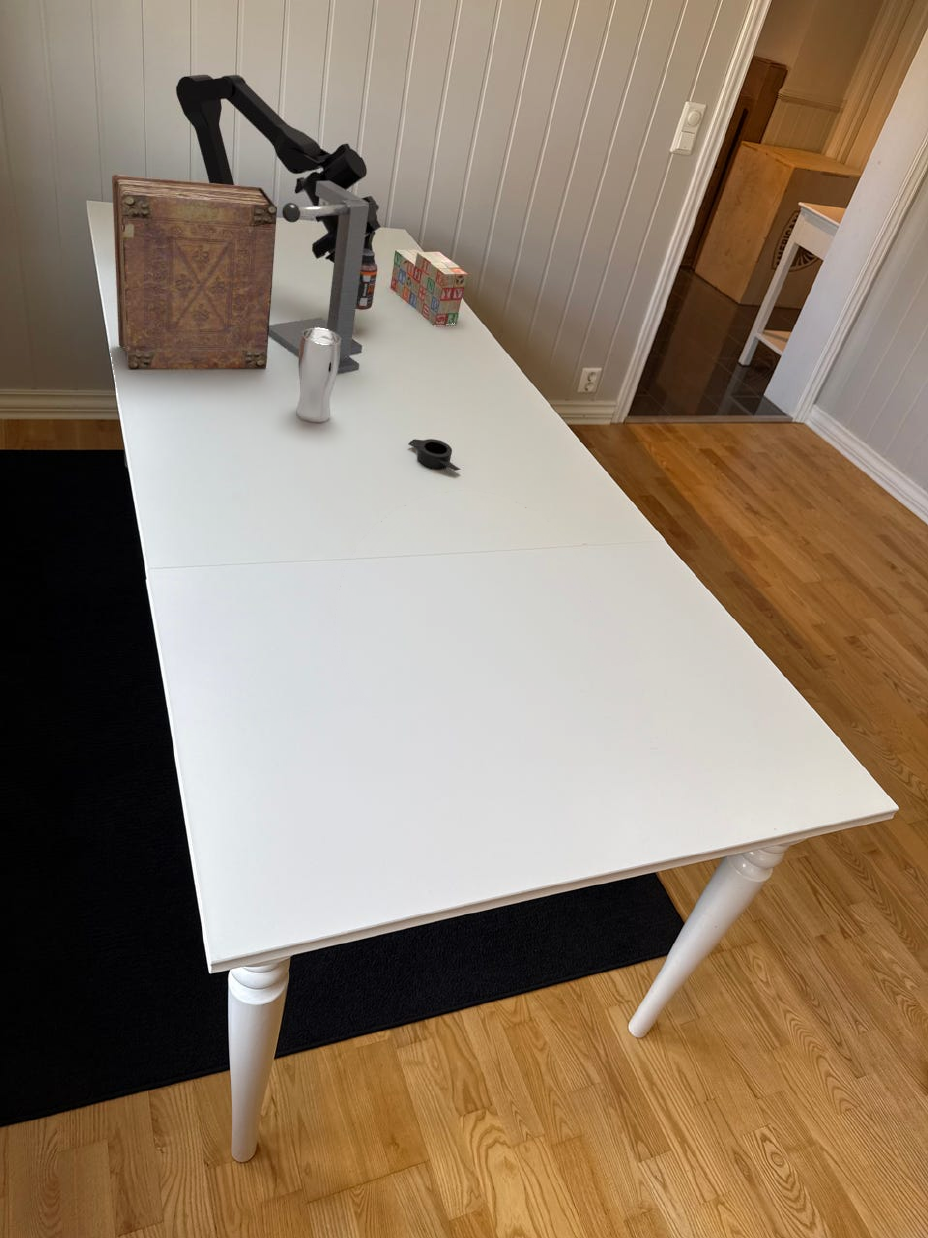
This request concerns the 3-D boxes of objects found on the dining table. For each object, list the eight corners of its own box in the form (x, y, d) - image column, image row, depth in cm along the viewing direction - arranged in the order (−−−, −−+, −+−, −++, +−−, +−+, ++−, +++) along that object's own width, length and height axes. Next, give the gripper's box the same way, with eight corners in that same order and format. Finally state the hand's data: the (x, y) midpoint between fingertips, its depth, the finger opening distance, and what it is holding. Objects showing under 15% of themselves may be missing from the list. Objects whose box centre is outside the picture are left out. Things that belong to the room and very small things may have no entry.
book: (127, 369, 157) (119, 193, 138) (118, 346, 163) (110, 173, 144) (266, 368, 168) (277, 205, 149) (254, 346, 174) (263, 187, 155)
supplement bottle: (370, 313, 184) (378, 259, 177) (342, 307, 184) (348, 252, 176) (373, 302, 189) (381, 249, 181) (346, 296, 188) (352, 243, 181)
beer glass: (315, 428, 155) (324, 348, 145) (285, 412, 157) (292, 332, 147) (340, 416, 160) (350, 338, 150) (310, 401, 162) (318, 323, 152)
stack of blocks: (389, 288, 212) (397, 236, 205) (411, 287, 216) (419, 236, 208) (434, 326, 200) (444, 273, 192) (457, 325, 204) (468, 272, 196)
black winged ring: (446, 447, 160) (449, 433, 158) (461, 478, 153) (464, 463, 151) (405, 446, 157) (408, 432, 155) (418, 477, 150) (421, 462, 148)
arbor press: (222, 339, 173) (227, 168, 153) (320, 323, 188) (337, 166, 168) (281, 385, 164) (295, 210, 144) (379, 365, 179) (404, 203, 159)
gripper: (332, 190, 165) (374, 268, 170) (379, 175, 179) (416, 248, 184) (292, 219, 171) (334, 294, 176) (340, 203, 185) (378, 272, 190)
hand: (368, 276), depth 182 cm, fingers closed on supplement bottle, 6 cm apart
